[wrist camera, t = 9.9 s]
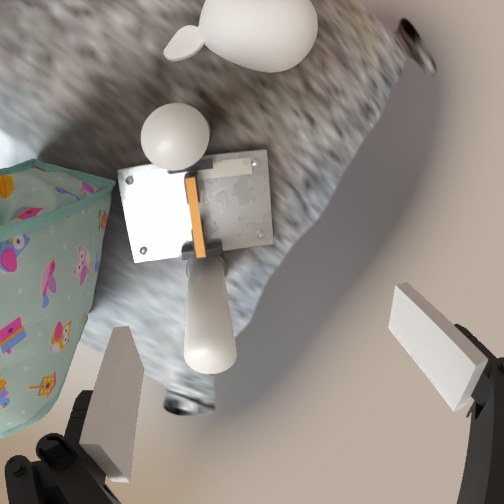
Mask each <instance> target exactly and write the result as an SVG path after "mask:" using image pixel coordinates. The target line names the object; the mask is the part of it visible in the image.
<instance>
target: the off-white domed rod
mask: <svg viewBox="0 0 504 504" xmlns="http://www.w3.org/2000/svg"><path fill="white" fill-rule="evenodd" d="M210 135H211V129H210V125H209V123H208V121H207V120H206V118H205V117H204V116H203V115H202V114H201V113H200V112H199V111H198V110H196V109H195V108H193V107H191V106H189V105H186V104H182V103H170V104H166V105H163V106H161V107H159V108H157V109H156V110H155V111H153V112H152V113H151V114H150V115H149V116H148V118H147V119H146V121H145V123H144V125H143V127H142V131H141V145H142V149H143V151H144V153H145V155H146V157H147V158H148V159H149V160H150V161H151V162H152V163H153V164H154V165H156V166H157V167H160V168H162V169H165V170H173V171H175V170H182V169H185V168H188V167H190V166H192V165H193V164H195V163H196V162H197V161H198V160H199V159H200V158H201V157H202V156H203V154H204V153H205V151H206V149H207V146H208V142H209V139H210Z"/></svg>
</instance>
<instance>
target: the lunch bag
mask: <svg viewBox="0 0 504 504" xmlns="http://www.w3.org/2000/svg"><path fill="white" fill-rule="evenodd" d="M115 185H116V182H115V181H114V180H110V179H106V178H102V177H99V176H95V175H92V174H88V173H84V172H81V171H76V170H72V169H67V168H63V167H60V166H57V165H53V164H49V163H45V162H43V161H40V160H37V159H30V160H28V161H25V162H23V163H20V164H17V165H15V166H12V167H9V168H3V169H0V438H5V437H7V436H9V435H10V434H13V433H15V432H18V431H20V430H22V429H24V428H26V427H28V426H30V425H31V424H33V423H35V422H37V421H39V420H40V419H41V418H43V417H44V416H45V415H46V414H47V413H48V412H49V411H50V410H51V408H52V407H53V405H54V404H55V402H56V401H57V399H58V397H59V395H60V392H61V389H62V387H63V384H64V382H65V379H66V376H67V373H68V370H69V367H70V364H71V361H72V358H73V355H74V353H75V350H76V347H77V344H78V342H79V340H80V338H81V335H82V332H83V329H84V327H85V324H86V322H87V320H88V315H87V314H88V312H89V311H90V309H91V307H92V304H93V299H94V291H95V285H96V281H97V275H98V270H99V265H100V259H101V252H102V243H103V237H104V232H105V227H106V223H107V219H108V215H109V211H110V206H111V201H112V196H113V188H114V187H115Z"/></svg>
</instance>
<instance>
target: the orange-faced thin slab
mask: <svg viewBox="0 0 504 504" xmlns="http://www.w3.org/2000/svg"><path fill="white" fill-rule="evenodd" d="M184 185H185V193H186V200H187V204H189V211H190V218H191V224H192V231H191V234H192V240H193V246H194V253H195V256H197V258H201V257H206V255H207V240H206V232H205V225H204V221H203V222H201V218H200V211H199V202H200V196H201V195H200V187H199V179H198V172H192V173H185V176H184Z"/></svg>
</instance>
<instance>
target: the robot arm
mask: <svg viewBox="0 0 504 504" xmlns="http://www.w3.org/2000/svg"><path fill="white" fill-rule="evenodd" d="M388 329H389V330H390V331H391V332H392V334H393V335H394V336H395V337H396V338H397V340H398V341H399V342H400V343H401V345H402V346H403V347H404V348H405V349H406V351H407V352H408V353H409V355H410V356H411V357H412V358H413V359H414V361H415V362H416V363H417V365H418V366H419V367H420V368H421V370H422V371H423V372H424V373H425V375H426V376H427V377H428V378H429V380H430V381H431V383H432V384H433V385H434V386H435V388H436V389H437V390H438V392H439V393H440V394H441V396H442V397H443V398H444V400H445V401H446V402H447V403H448V405H449V406H450V408H451V409H452V410H453V411H456V410H458V409H460V408H462V407H464V406H465V405H466V404H467V403H468V401H469V399H470V397H472V398H473V399H474V400H475V401H474V402H473V404H472V406H471V408H470V410H469V411H468V413H467V416H466V417H469V415H470V413H471V412H472V415H471V426H470V434H469V443H468V449H467V456H466V462H465V468H464V473H463V479H462V483H461V488H460V492H459V497H458V501H457V504H504V358H498V359H497V358H496V357H495V356H494V355H493V354H492V353H491V352H490V351H489V350H488V349H487V348H486V347H485V346H484V345H483V344H482V343H481V342H479V341H478V339H477V338H476V337H474V336H473V335H472V334H471V333H470V332H469V331H468V330H467V329H466V328H464V327H462V326H461V325H459V324H455V325H453V324H452V323H451V322H450V321H449V320H448V319H447V318H446V317H444V315H443V314H441V313H440V312H439V311H438V310H437V309H436V308H435V307H434V306H433V305H432V304H431V303H430V302H428V301H427V300H426V299H425V298H424V297H423V296H422V295H421V294H420V293H419V292H417V291H416V290H415V289H414V288H413V287H412V286H411V285H409V284H408V283H402V284H398V285H395V291H394V298H393V304H392V310H391V316H390V322H389V327H388ZM143 375H144V367H143V364H142V362H141V359H140V357H139V354H138V351H137V348H136V346H135V343H134V340H133V337H132V334H131V331H130V329H129V326H126V327H115V328H114V329H113V331H112V334H111V337H110V340H109V343H108V346H107V349H106V352H105V355H104V358H103V361H102V364H101V367H100V370H99V374H98V377H97V380H96V383H95V386H94V390H83V391H82V392H81V393H80V394H79V395H78V397H77V398H76V399H75V402H74V406H73V408H72V409H73V411H72V412H71V415H70V419H69V421H68V425H67V428H66V431H65V435H64V437H63V436H62V435H60V434H58V433H50V434H47V435H45V436H43V437H42V438H41V439H40V440H39V442H38V443H37V446H36V454H37V456H38V457H39V458H40V459H41V461H35V462H30V461H29V460H28V459H27V458H26V457H25V456H22V455H16V456H13V457H12V458H10V459H9V460H8V461H7V464H6V466H5V479H6V487H7V493H8V499H9V504H121V503H120V501H119V500H118V499H117V498H116V497H115V495H114V494H113V493H112V491H111V490H110V489H109V487H108V486H107V485H106V484H105V478H106V476H107V477H108V478H109V479H110V480H111V481H113V482H130V478H131V468H132V457H133V448H134V439H135V431H136V422H137V414H138V408H139V401H140V394H141V387H142V381H143Z"/></svg>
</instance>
